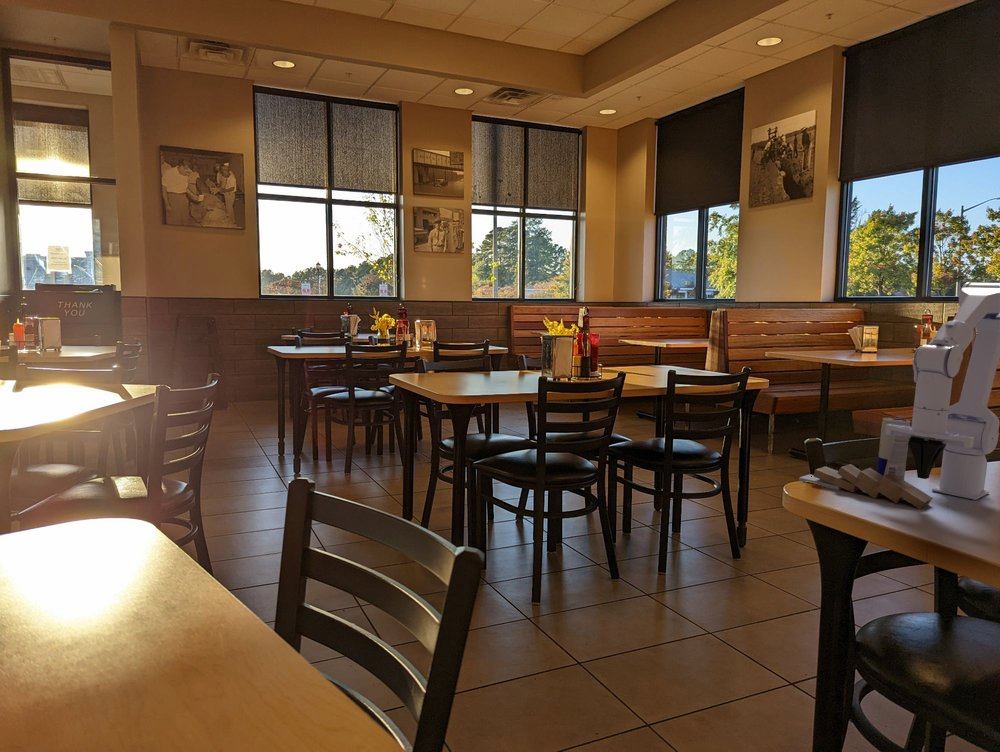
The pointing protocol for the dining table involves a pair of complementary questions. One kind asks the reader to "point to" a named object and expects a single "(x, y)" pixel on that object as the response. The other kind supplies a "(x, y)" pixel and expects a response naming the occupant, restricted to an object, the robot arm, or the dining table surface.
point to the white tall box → (892, 450)
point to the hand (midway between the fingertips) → (923, 477)
